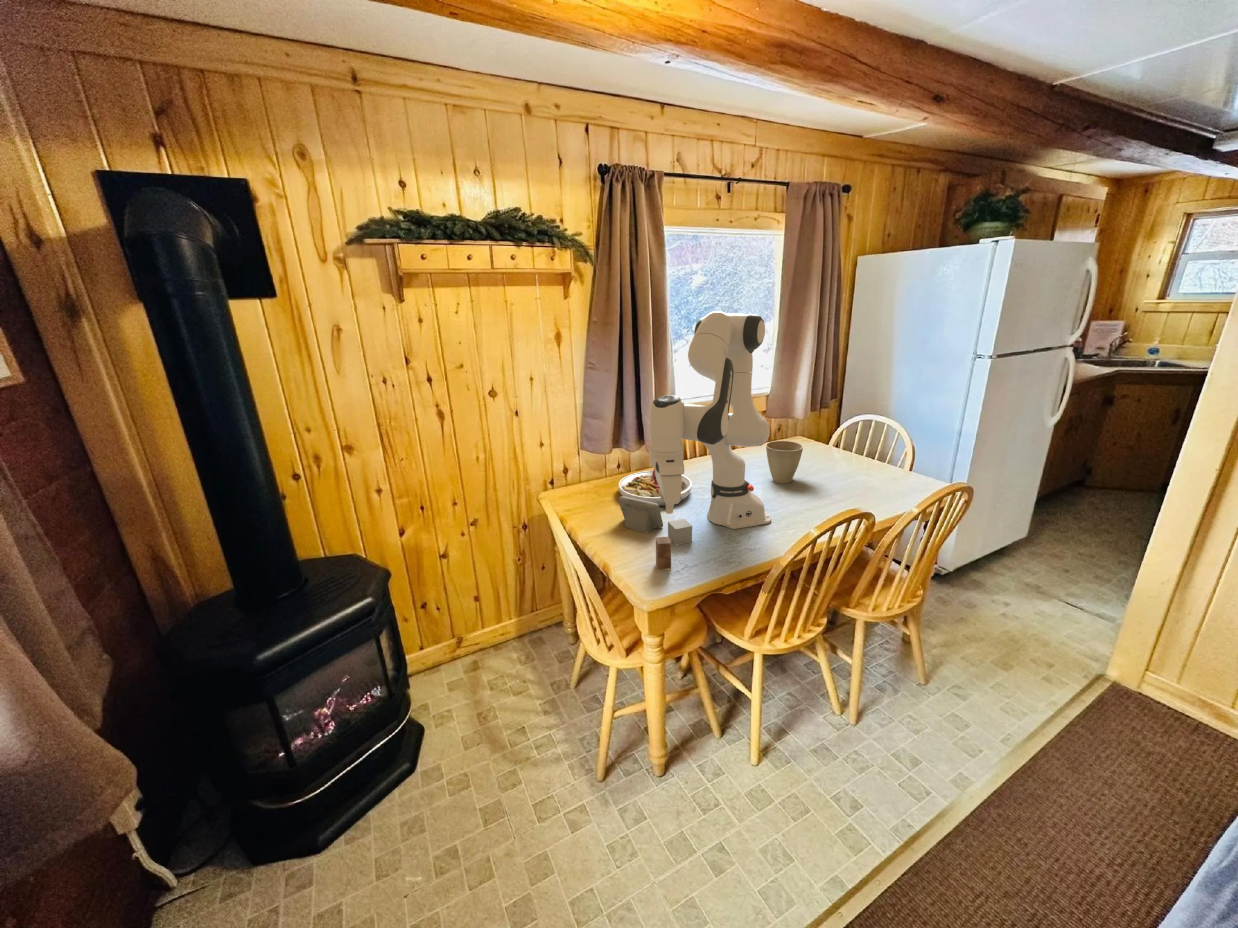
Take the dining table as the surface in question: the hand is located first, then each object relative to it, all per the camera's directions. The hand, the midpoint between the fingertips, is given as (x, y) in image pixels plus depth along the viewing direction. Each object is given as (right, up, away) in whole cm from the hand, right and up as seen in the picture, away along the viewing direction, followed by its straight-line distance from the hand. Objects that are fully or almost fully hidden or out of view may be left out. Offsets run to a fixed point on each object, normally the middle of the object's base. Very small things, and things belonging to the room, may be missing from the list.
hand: (666, 505), depth 130 cm
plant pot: (+57, +4, +76) cm, 95 cm away
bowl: (+2, -1, +68) cm, 68 cm away
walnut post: (0, -20, +14) cm, 24 cm away
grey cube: (+7, -14, +30) cm, 34 cm away
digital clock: (-5, -11, +41) cm, 42 cm away
